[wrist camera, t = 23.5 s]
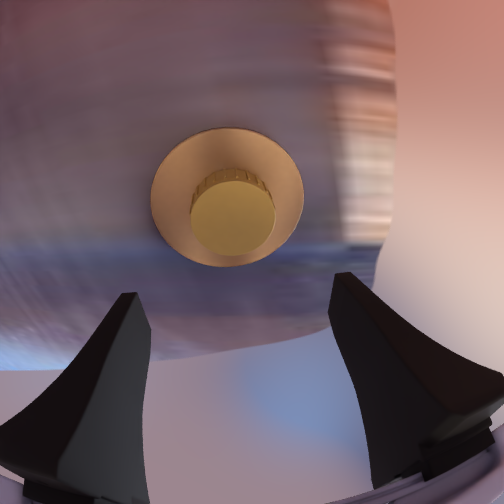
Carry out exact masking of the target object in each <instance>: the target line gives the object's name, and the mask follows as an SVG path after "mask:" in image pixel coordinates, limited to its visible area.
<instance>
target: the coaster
mask: <svg viewBox="0 0 504 504" xmlns="http://www.w3.org/2000/svg"><path fill="white" fill-rule="evenodd" d="M235 168H237V169H239V170H244V171H246V170H248V172H249V173H252V174H253V175H257V177H258V178H259V179H260V180H261V181H262V182H263V181H264V182H265V185H266V187H267V190H269V191H270V193H271V196H272V198H273V204H274V206H275V209H276V210H275V213H276V220H275V225H274V229H273V231H272V233H271V235H270V236H269V238H268V239H267V240H266V241H265V242H264V243H263V244H262V245H261V246H260V247H258V248H257V249H255V250H253V251H251V252H249V253H246V254H242V255H235V256H228V255H221V254H217V253H214V252H212V251H210V250H208V249H207V248H205V247H204V246H203V245H202V244H201V243H200V242H199V241H198V240H197V239H196V237H195V236H194V234H193V231H192V228H191V225H190V216H191V215H189V212H190V205H191V201H192V195H193V194H194V193H195V191H196V188H197V185H200V183H201V182H202V181H203V180H204V178H207V177H208V176H209V175H211V174H213V172H218V171H221V170H224V169H235ZM303 202H304V190H303V183H302V179H301V176H300V173H299V171H298V169H297V166H296V165H295V163H294V162H293V160H292V159H291V157H290V156H289V155H288V153H287V152H286V151H285V150H284V149H283V148H282V147H281V146H280V145H278V144H277V143H276V142H275V141H273V140H272V139H270V138H268V137H267V136H265V135H262V134H260V133H258V132H255V131H252V130H248V129H243V128H236V127H222V128H214V129H209V130H206V131H202V132H200V133H197V134H195V135H192V136H191V137H189V138H187V139H185V140H184V141H182V142H181V143H180V144H178V145H177V146H176V147H174V148H173V149H172V151H171V152H170V153H169V154H168V155H167V156H166V157H165V159H164V160H163V161H162V163H161V165H160V166H159V168H158V170H157V172H156V174H155V177H154V180H153V183H152V188H151V197H150V203H151V211H152V215H153V219H154V222H155V224H156V227H157V229H158V230H159V232H160V234H161V235H162V237H163V238H164V239H165V240H166V242H167V243H168V244H169V245H170V246H171V247H172V248H173V249H175V250H176V251H177V252H179V253H180V254H182V255H183V256H185V257H187V258H188V259H191V260H193V261H195V262H198V263H201V264H205V265H210V266H217V267H233V266H240V265H245V264H249V263H252V262H255V261H258V260H260V259H262V258H264V257H266V256H267V255H269V254H271V253H272V252H274V251H275V250H276V249H278V248H279V247H280V246H281V245H282V244H283V243H284V242H285V241H286V240H287V239H288V238H289V236H290V235H291V234H292V232H293V231H294V229H295V227H296V226H297V223H298V221H299V219H300V216H301V213H302V209H303Z"/></svg>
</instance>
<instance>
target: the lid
mask: <svg viewBox="0 0 504 504" xmlns="http://www.w3.org/2000/svg"><path fill="white" fill-rule="evenodd" d="M275 210H276V209H275V206H274V204H273V198H272V196H271V193H270V191H269V190H267V187H266V185H265V182H264V181H263V182H262V181H261V180H260V179H259V178H258V177H257V175H253V174H252V173H249V172H248V170H246V171H244V170H239V169H237V168H235V169H224V170H221V171H218V172H213V174H211V175H209V176H208V177H207V178H204V180H203V181H202V182H201V183H200V185H197V188H196V191H195V193H194V194H193V195H192V201H191V205H190V212H189V215H191V216H190V225H191V228H192V231H193V234H194V236H195V237H196V239H197V240H198V241H199V242H200V243H201V244H202V245H203V246H204V247H205V248H207V249H208V250H210V251H212V252H214V253H217V254H221V255H228V256H235V255H242V254H246V253H249V252H251V251H253V250H255V249H257V248H258V247H260V246H261V245H262V244H263V243H264V242H265V241H266V240H267V239H268V238H269V236H270V235H271V233H272V231H273V229H274V225H275V220H276V213H275Z"/></svg>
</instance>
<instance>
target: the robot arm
mask: <svg viewBox="0 0 504 504" xmlns="http://www.w3.org/2000/svg"><path fill="white" fill-rule="evenodd" d="M328 315H329V319H330V323H331V327H332V330H333V334H334V337H335V339H336V342H337V345H338V347H339V349H340V352H341V355H342V357H343V359H344V362H345V364H346V367H347V369H348V372H349V374H350V377H351V379H352V382H353V385H354V388H355V391H356V394H357V398H358V402H359V406H360V410H361V414H362V419H363V424H364V429H365V434H366V439H367V446H368V452H369V459H370V468H371V480H372V484H373V488H374V490H372V491H369V492H367V493H363V494H360V495H357V496H353V497H350V498H346V499H342V500H339V501H335V502H330V503H326V504H386V503H388V502H389V503H388V504H491V503H492V502H494V501H495V500H496V499H497V498H498V497H499V496H500V495H501V494H502V493H504V424H502V425H501V426H500V427H498V428H496V429H495V430H494V431H492V432H491V431H490V429H489V426H491V425H492V421H491V418H490V416H491V415H492V414H493V413H494V412H495V411H496V410H497V409H499V408H500V407H501V406H502V405H503V404H504V376H503V374H502V373H500V372H497V371H495V370H492V369H489V368H487V367H484V366H481V365H479V364H477V363H475V362H472V361H470V360H468V359H466V358H464V357H462V356H460V355H458V354H456V353H454V352H452V351H451V350H449V349H447V348H445V347H444V346H442V345H440V344H439V343H437V342H435V341H434V340H432V339H431V338H429V337H428V336H426V335H425V334H424V333H422V332H421V331H419V330H417V329H416V328H415V327H414V326H412V325H411V324H410V323H409V322H407V321H406V320H405V319H403V318H402V317H401V316H400V315H398V314H397V313H396V312H395V311H394V310H392V309H391V308H390V307H389V306H388V305H387V304H385V303H384V302H383V301H382V300H381V299H380V298H379V297H378V296H376V295H375V294H374V293H373V292H372V291H371V290H370V289H369V288H368V287H367V286H366V285H364V284H363V283H362V282H361V281H360V280H359V279H358V278H357V277H356V276H354V275H353V274H352V273H351V272H345V273H336V274H335V277H334V282H333V288H332V293H331V299H330V304H329V309H328ZM150 347H151V328H150V325H149V323H148V320H147V318H146V315H145V312H144V310H143V307H142V304H141V302H140V299H139V296H138V293H137V292H132V293H122V294H121V295H120V296H119V298H118V299H117V300H116V302H115V303H114V305H113V306H112V307H111V309H110V310H109V312H108V313H107V315H106V316H105V318H104V319H103V320H102V322H101V323H100V325H99V326H98V327H97V329H96V330H95V332H94V333H93V335H92V336H91V337H90V339H89V340H88V341H87V343H86V344H85V345H84V347H83V348H82V349H81V351H80V352H79V353H78V355H77V356H76V357H75V358H74V360H73V361H72V362H71V363H70V364H69V366H68V367H67V368H66V369H65V370H64V371H63V372H62V373H61V375H60V376H59V377H58V378H57V379H56V380H55V381H54V382H53V383H52V384H51V385H50V386H49V387H48V388H47V389H46V390H45V391H44V392H43V393H42V394H41V395H40V396H38V397H37V398H36V399H35V400H34V401H33V402H32V403H30V404H29V405H28V406H27V407H26V408H24V409H23V410H22V411H21V412H19V413H18V414H17V415H15V416H14V417H13V418H11V419H10V420H8V421H7V422H5V423H4V424H3V425H1V426H0V465H1V466H3V467H4V468H6V469H8V470H9V471H11V472H13V473H15V474H17V475H18V476H20V477H22V478H24V485H23V484H21V483H19V482H17V481H14V480H12V479H9V478H7V477H5V476H2V475H0V504H150V501H149V496H148V490H147V483H146V476H145V467H144V456H143V437H142V411H143V401H144V393H145V386H146V379H147V372H148V366H149V359H150Z"/></svg>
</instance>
